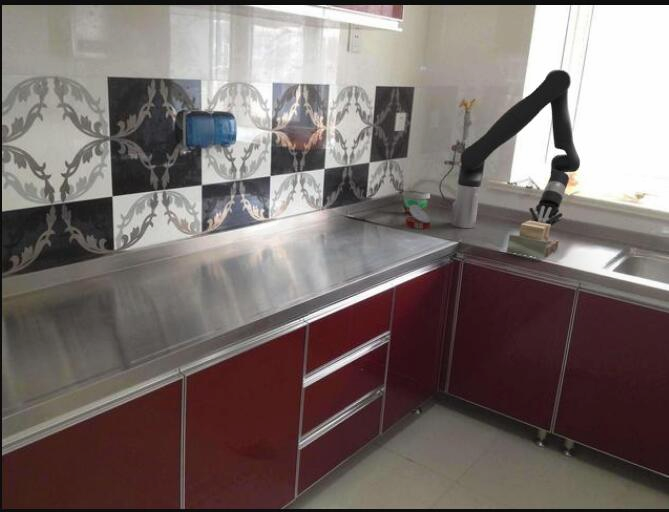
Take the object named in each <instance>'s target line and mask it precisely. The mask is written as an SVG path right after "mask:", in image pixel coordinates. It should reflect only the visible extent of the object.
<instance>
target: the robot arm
mask: <svg viewBox="0 0 669 512" xmlns="http://www.w3.org/2000/svg"><path fill="white" fill-rule="evenodd" d="M571 84H572V79H571V75H570V74H569V72H568V71H566V70H564V69H562V68H555V69H553V70H550V71H549V72H548V74H547V75H546V76H545V79H544V80H542V82H541V83H540V84H539V85H538V86H537V87H536V88H535V89H534V90H533V91H532V92H531V93H530V94H528V95H527V96H525V97H524V98H522V99H521V100H519V101H518V102H517V103H515V104H514V105H512V106H511V107H510V108H509V109H508V110H507V111H506V112H504V113H503V114H502V115H501V116H500V117H499V118H498V119H497V120H495V121H496V122H494V123H493V125H491V127H489V129H488V130H487V132H486V133H485V134H483V135H482V136H481V137H480V138H479V139H478V140H476V141H475V142H473V143H472V144H471V145H469V146H467V147H466V148H465V149H463V150H462V152H461V154H460V171H459V175H458V181H457V186H456V188H457V189H456V195H455V201H454V202H453V204H452V211H451V218H450V219H451V221H450V226H454V227H457V228H462V229H474V228H476V227H475V226H476V220H477V212H478V208H479V207H478V206H479V201H480V199H479V197H480V194H481V193H480V192H481V185H482V180H483V176H484V169H485V162H486V160H487V159H488V157H490V156H491V155H492V154H493V152H494V151H496V150H498V148H499V147H500V146H503V145H504V144H506V142H508V141H510V140H511V139H512V138H514V137H515V136H516V135H517V134H518V133H520V132H521V131H522V130H523V129H525V127H527V125H528V124H530V123H531V122H532V120H534V119H535V118H536V117H537V116H538V114H539V113H540V112H541V111H542V110H543V109H544V108H545V107H546V106H548V105H549V104H550V109H551V125H552V137H553V145H554V148H555V149H557V150H562V151H564V153H565V154H557V155H555V156H554V157H553V158H552V159H551V163H550V177H549V179H548V181H547V184H546V185H545V188H544V190H543V192H542V195H541V197H540V200H539V202H538V204H537V205H536V206H535V207H529V208H528V210H529V215H530V217H531V219H532V221H535V222H541V223H546V224H551V226H552V225H555V224H556V223H558V222H560V221H561V220H563V217H564V216H563V213H562V212H560V207H561V204H562V202H563V200H564V197H565V192H566V189H567V186H568V183H569V180H570V176H569V175H568V173H574V172H577V171H579V168H580V166H581V160H580V156H579V153H578V152H577V151H578V150H577V149H576V147H575V143H574V137H573V127H572V120H571V114H570V110H569V102H568V101H569V100H568V99H569V98H568V96H569V95H568V94H569V88H570V86H571ZM536 213H537V214H538V217H537V215H536Z"/></svg>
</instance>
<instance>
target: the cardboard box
mask: <svg viewBox="0 0 669 512" xmlns="http://www.w3.org/2000/svg"><path fill="white" fill-rule="evenodd" d="M551 227H552V225H551V224H546V223H541V222H535V221H533V220H530V219H529V220H527V221H525V222H523V223H521V224H520V229H519V235H520V236H525V237H530V238H535V239H540V240H545V241H547V243H548V241H549V237H550V231H551Z"/></svg>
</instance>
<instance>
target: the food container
mask: <svg viewBox="0 0 669 512" xmlns="http://www.w3.org/2000/svg"><path fill="white" fill-rule="evenodd" d="M401 194H402V196H403V214H404V213H405V215H407V214H408V215H407V216H412V214H411V213H410V207H411V205H413V204H415V205H418V206H420V207H421V208H422V210H424V211H425V212H426V211H427V206H428V202H429V199H430V198H431V194H430V192H428V193H421V192H417V191H415V192H409V191H407V190H403V191H402V193H401Z"/></svg>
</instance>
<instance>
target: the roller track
mask: <svg viewBox="0 0 669 512" xmlns="http://www.w3.org/2000/svg"><path fill="white" fill-rule="evenodd" d="M559 243H560V240H559V239H554V240H548V243H547V241H545V240H540V239H535V238H530V237H525V236H520V234H514V233H510V234H509V237H508V242H507V248H506V249H507V250H506V252H507V253H509V252H510V254H513V253H516V254H515V255H518V254H521V255H520V256H523V255H526V256H525V257H527V256H532V257H536V258H541V259H543V260H544V258H545V257H546V256H547V257H549V256H550V255H551V253H552V252H553V253H554V252H556V251H557V250H558V248H559ZM555 250H556V251H555ZM553 253H552V254H553ZM549 254H550V255H549ZM548 255H549V256H548ZM532 257H531V258H532ZM547 257H546V258H547ZM536 258H535V259H536ZM546 258H545V259H546ZM541 259H540V260H541Z"/></svg>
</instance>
